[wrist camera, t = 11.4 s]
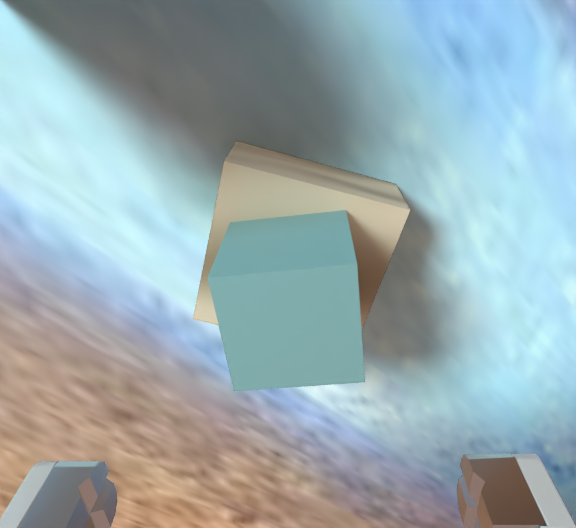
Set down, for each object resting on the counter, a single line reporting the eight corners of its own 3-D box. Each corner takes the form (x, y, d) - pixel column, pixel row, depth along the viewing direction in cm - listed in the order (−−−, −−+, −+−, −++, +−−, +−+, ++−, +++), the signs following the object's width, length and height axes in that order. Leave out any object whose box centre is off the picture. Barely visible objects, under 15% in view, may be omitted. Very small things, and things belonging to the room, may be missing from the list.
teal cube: (230, 222, 20) (207, 277, 15) (345, 210, 19) (357, 263, 15) (248, 318, 22) (234, 391, 18) (353, 309, 22) (365, 382, 17)
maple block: (237, 139, 22) (224, 161, 19) (394, 181, 23) (410, 210, 19) (208, 278, 26) (192, 319, 22) (344, 311, 26) (350, 355, 23)
